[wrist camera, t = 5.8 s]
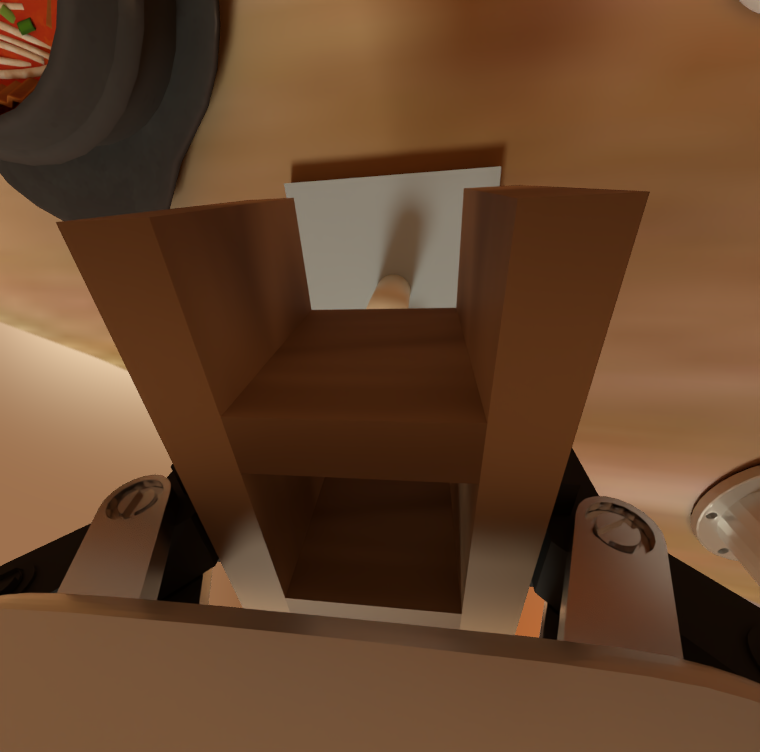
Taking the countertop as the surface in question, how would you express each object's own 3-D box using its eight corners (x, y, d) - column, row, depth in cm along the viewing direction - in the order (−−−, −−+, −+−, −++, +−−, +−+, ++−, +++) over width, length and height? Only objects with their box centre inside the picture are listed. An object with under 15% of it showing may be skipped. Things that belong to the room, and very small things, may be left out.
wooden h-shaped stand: (246, 200, 8) (55, 221, 4) (518, 184, 7) (648, 192, 3) (317, 520, 14) (272, 667, 10) (472, 529, 13) (496, 694, 9)
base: (497, 167, 20) (522, 161, 15) (480, 360, 27) (493, 405, 21) (290, 183, 22) (247, 183, 17) (320, 361, 28) (296, 402, 23)
